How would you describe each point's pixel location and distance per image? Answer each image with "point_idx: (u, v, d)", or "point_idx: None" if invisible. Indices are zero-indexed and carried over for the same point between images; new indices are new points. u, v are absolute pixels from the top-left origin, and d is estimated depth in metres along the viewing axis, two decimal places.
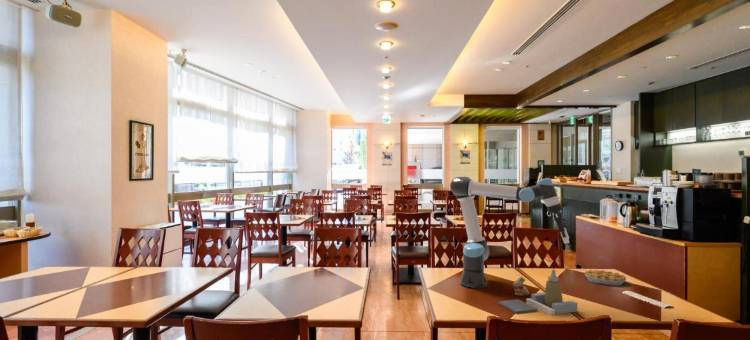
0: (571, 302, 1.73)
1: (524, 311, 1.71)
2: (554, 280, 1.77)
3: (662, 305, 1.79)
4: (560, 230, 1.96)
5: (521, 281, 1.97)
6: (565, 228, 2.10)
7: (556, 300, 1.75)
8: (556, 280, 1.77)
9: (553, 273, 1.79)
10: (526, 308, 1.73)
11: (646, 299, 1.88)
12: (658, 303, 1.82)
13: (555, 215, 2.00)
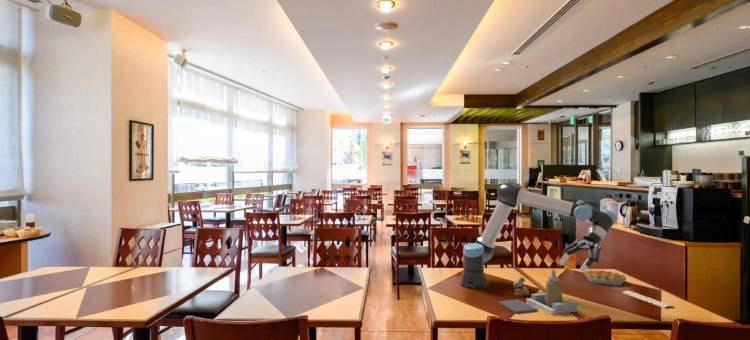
0: (571, 302, 1.73)
1: (524, 311, 1.71)
2: (554, 280, 1.77)
3: (662, 305, 1.79)
4: (595, 259, 1.74)
5: (521, 281, 1.97)
6: (569, 256, 1.90)
7: (556, 300, 1.75)
8: (556, 280, 1.77)
9: (553, 273, 1.79)
10: (526, 308, 1.73)
11: (646, 299, 1.88)
12: (658, 303, 1.82)
13: (599, 245, 1.79)
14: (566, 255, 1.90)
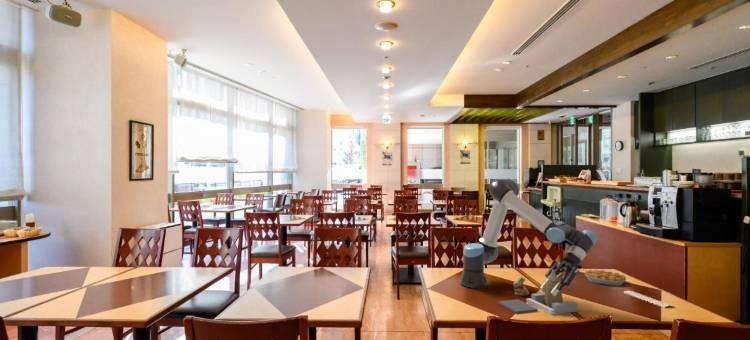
0: (571, 302, 1.73)
1: (524, 311, 1.71)
2: (554, 280, 1.77)
3: (662, 305, 1.80)
4: (566, 283, 1.73)
5: (521, 281, 1.97)
6: None
7: (556, 300, 1.75)
8: (556, 280, 1.77)
9: (553, 273, 1.79)
10: (526, 308, 1.73)
11: (647, 299, 1.88)
12: (659, 303, 1.82)
13: (576, 269, 1.75)
14: None
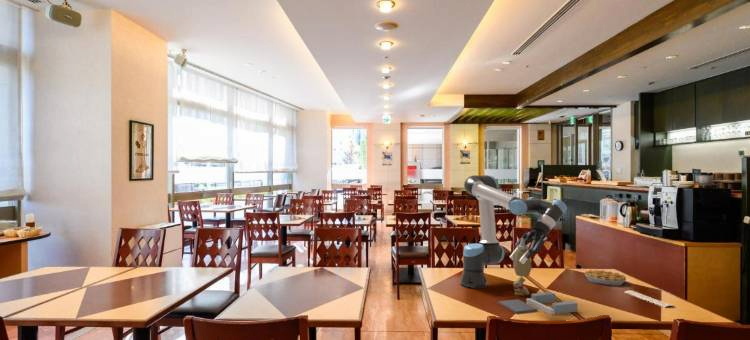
0: (571, 302, 1.73)
1: (524, 311, 1.71)
2: (523, 248, 1.76)
3: (663, 304, 1.80)
4: (534, 250, 1.72)
5: (521, 281, 1.97)
6: None
7: (525, 268, 1.74)
8: (525, 248, 1.76)
9: (522, 242, 1.77)
10: (526, 308, 1.73)
11: (647, 298, 1.89)
12: (659, 302, 1.83)
13: (545, 237, 1.74)
14: None
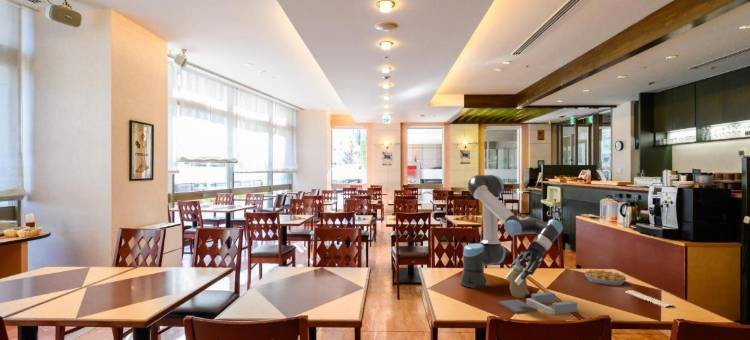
0: (571, 302, 1.73)
1: (524, 311, 1.71)
2: (518, 269, 1.75)
3: (663, 304, 1.80)
4: (530, 272, 1.72)
5: None
6: None
7: (520, 289, 1.74)
8: (520, 269, 1.75)
9: (517, 262, 1.77)
10: (526, 308, 1.73)
11: (648, 298, 1.89)
12: (659, 302, 1.83)
13: (540, 258, 1.74)
14: None
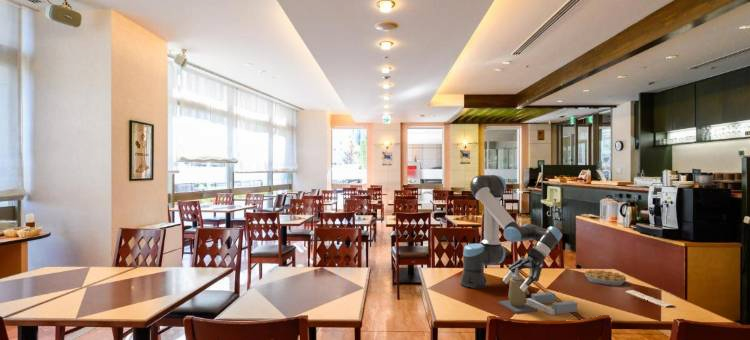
0: (571, 302, 1.73)
1: (524, 311, 1.71)
2: (517, 278, 1.76)
3: (663, 304, 1.80)
4: (535, 278, 1.69)
5: None
6: (513, 274, 1.85)
7: (519, 298, 1.74)
8: (519, 278, 1.76)
9: (516, 271, 1.78)
10: (526, 308, 1.73)
11: (648, 298, 1.89)
12: (660, 302, 1.83)
13: (541, 264, 1.74)
14: (511, 273, 1.84)
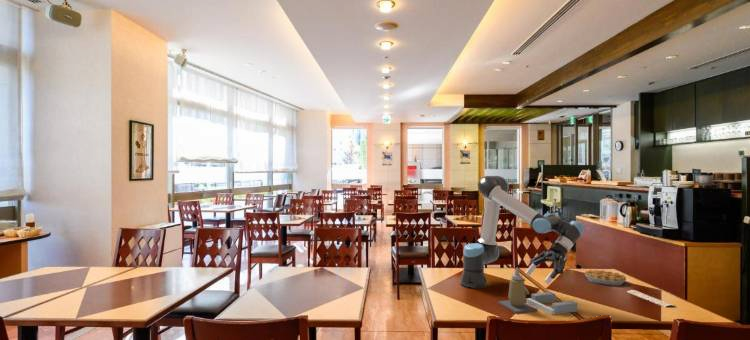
0: (571, 302, 1.73)
1: (524, 311, 1.71)
2: (517, 278, 1.76)
3: (664, 304, 1.81)
4: (560, 271, 1.73)
5: None
6: None
7: (519, 298, 1.74)
8: (519, 278, 1.76)
9: (516, 271, 1.78)
10: (526, 308, 1.73)
11: (649, 298, 1.89)
12: (660, 302, 1.83)
13: (564, 257, 1.78)
14: (533, 266, 1.88)
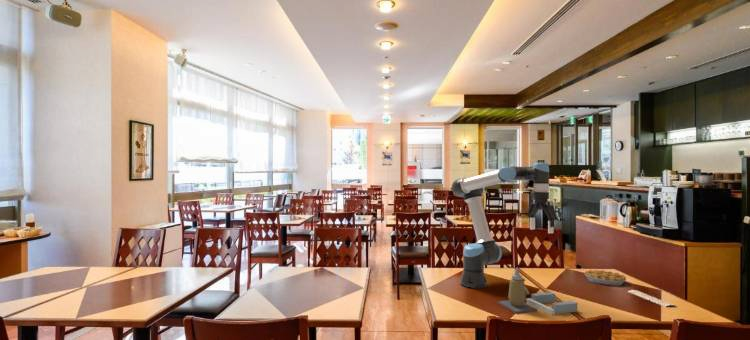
0: (571, 302, 1.73)
1: (524, 311, 1.71)
2: (517, 278, 1.76)
3: (664, 304, 1.81)
4: (554, 219, 1.85)
5: None
6: (534, 218, 2.01)
7: (519, 298, 1.74)
8: (519, 278, 1.76)
9: (516, 271, 1.78)
10: (526, 308, 1.73)
11: (650, 298, 1.90)
12: (661, 302, 1.83)
13: (549, 202, 1.88)
14: (532, 219, 2.01)
